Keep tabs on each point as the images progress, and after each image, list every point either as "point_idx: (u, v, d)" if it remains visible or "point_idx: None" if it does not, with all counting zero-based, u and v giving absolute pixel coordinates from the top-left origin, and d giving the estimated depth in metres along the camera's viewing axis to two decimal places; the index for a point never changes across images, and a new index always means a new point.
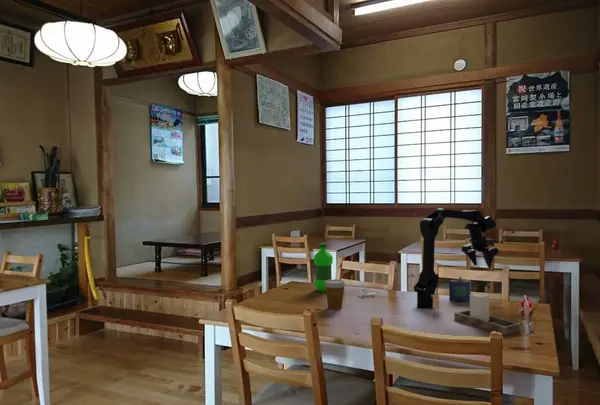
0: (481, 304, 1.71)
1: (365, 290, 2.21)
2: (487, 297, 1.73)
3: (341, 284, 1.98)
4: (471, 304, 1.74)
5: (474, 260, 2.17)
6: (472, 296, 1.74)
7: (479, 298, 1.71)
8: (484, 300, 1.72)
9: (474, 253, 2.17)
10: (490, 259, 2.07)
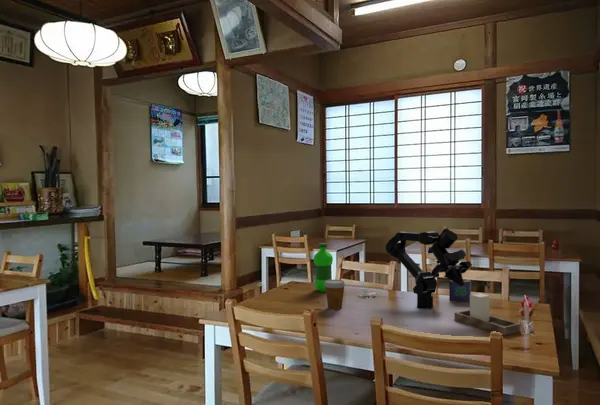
0: (481, 304, 1.71)
1: (365, 290, 2.21)
2: (487, 297, 1.73)
3: (341, 284, 1.98)
4: (471, 304, 1.74)
5: None
6: (472, 296, 1.74)
7: (479, 298, 1.71)
8: (484, 300, 1.72)
9: (457, 272, 1.84)
10: (454, 276, 1.83)
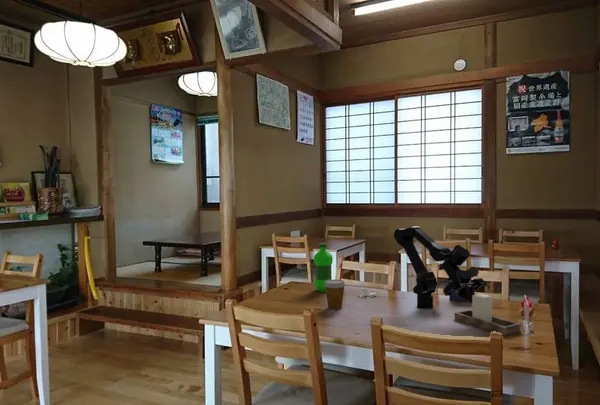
0: (483, 305, 1.70)
1: (365, 290, 2.21)
2: (490, 298, 1.72)
3: (341, 284, 1.98)
4: (474, 304, 1.73)
5: None
6: (475, 297, 1.73)
7: (482, 299, 1.70)
8: (486, 301, 1.71)
9: (470, 290, 1.79)
10: (467, 294, 1.77)
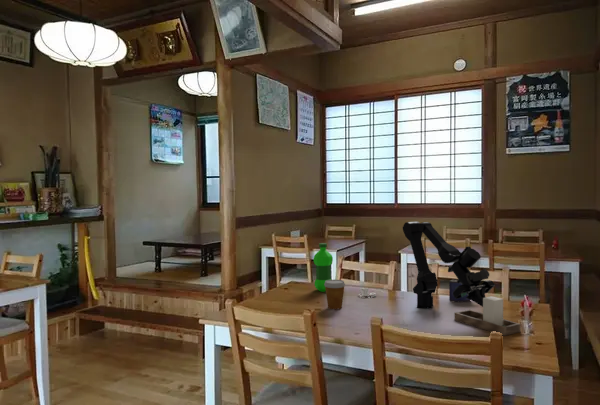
0: (495, 308, 1.66)
1: (365, 290, 2.21)
2: (501, 300, 1.67)
3: (341, 284, 1.98)
4: (485, 307, 1.69)
5: (482, 302, 1.73)
6: (485, 299, 1.69)
7: (493, 301, 1.66)
8: (498, 304, 1.66)
9: (480, 293, 1.74)
10: (477, 297, 1.73)
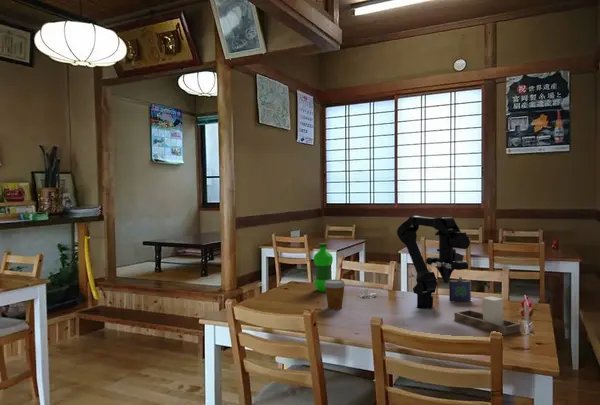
0: (495, 308, 1.66)
1: (366, 290, 2.20)
2: (501, 300, 1.67)
3: (341, 284, 1.98)
4: (485, 307, 1.69)
5: None
6: (485, 299, 1.69)
7: (493, 301, 1.66)
8: (498, 304, 1.66)
9: None
10: (449, 273, 1.88)
